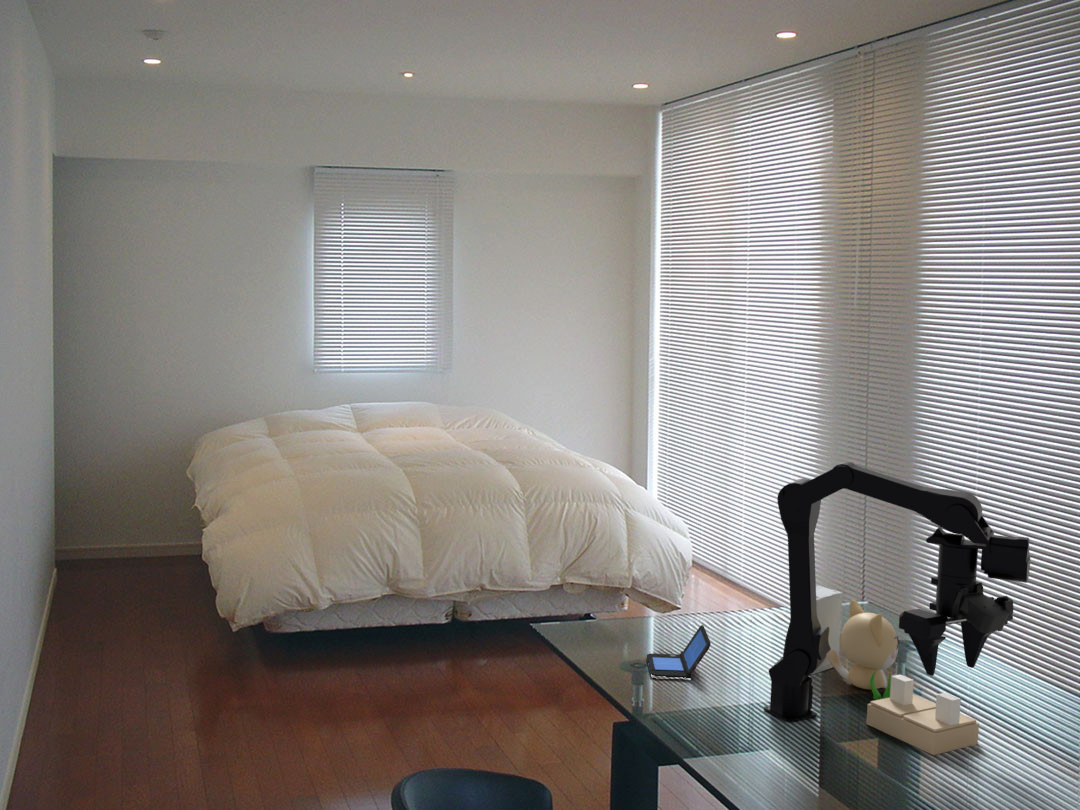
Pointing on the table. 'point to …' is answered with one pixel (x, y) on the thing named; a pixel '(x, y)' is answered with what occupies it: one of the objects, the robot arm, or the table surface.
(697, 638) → the handheld game console
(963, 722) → the white block
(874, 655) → the kitten
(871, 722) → the carton
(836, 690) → the table surface
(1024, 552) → the robot arm
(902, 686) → the flap far
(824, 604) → the skincare box
